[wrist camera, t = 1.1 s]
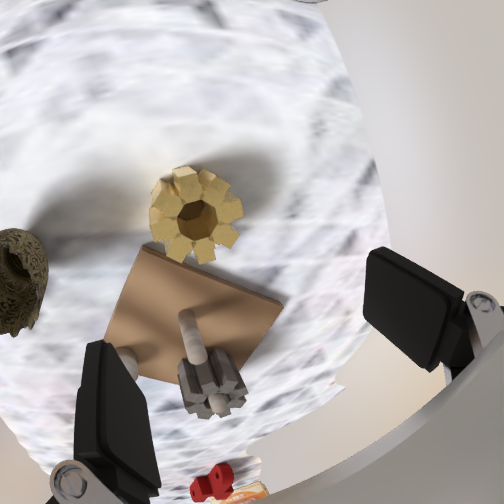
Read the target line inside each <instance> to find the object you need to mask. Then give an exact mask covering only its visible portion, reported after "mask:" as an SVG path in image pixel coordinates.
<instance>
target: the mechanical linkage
mask: <svg viewBox="0 0 504 504" xmlns="http://www.w3.org/2000/svg"><path fill="white" fill-rule="evenodd" d="M233 481H234V474H233V471H232V468H231V467H230V465H229V464H218V465H215V466H214V468H213V469H212V470H211V472H210V473H209V474H208V476H207V477H196V479H195V480H194V482H193V483H192V485H191V486H190V494H191V497H192V500H193V501H194V502H195V503H196V502H204V501H205V500H206V499H207V498H208V497H211V496H214V498H215V499H216V500H225V499H227V498H228V497H229V496H230V495H231V494H232V493H233V492H234V490H233V488H232V484H233Z"/></svg>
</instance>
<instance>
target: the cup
mask: <svg viewBox="0 0 504 504" xmlns="http://www.w3.org/2000/svg"><path fill="white" fill-rule="evenodd" d="M48 272H49V269H48V261H47V257H46V254H45V251H44V249H43V246H42V244H41V242H40V241H39V239H38V238H37V237H35V236H34V235H32V234H30V233H29V232H27V231H24V230H21V229H17V228H11V229H5V230H2V231H0V335H3V334H7V333H10V335H11V337H13V338H14V337H16V336H18V333H19V331H20V330H21V329H22V328H25V329H26V327H27V326H28V329H29V330H31V329H32V328H33V326H34V324H35V321H37V319H38V317H39V311H40V308H41V304H42V301H43V297H44V294H45V290H46V286H47V281H48Z"/></svg>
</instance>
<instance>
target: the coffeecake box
mask: <svg viewBox="0 0 504 504" xmlns="http://www.w3.org/2000/svg"><path fill="white" fill-rule="evenodd" d="M268 495H270V494H269V492H268V490H267V488H266V487H265V485H263V484H262V483H261V482H260V481H258V482H255V483H253V484H250V485H247V486H244V487H241V488H239V489H236V490H234V492H233V493H232V494H231V495H230V496H229V497H228V498H227V499H225V500H216V499H215V498H214V496H213V497H209V500H210V503H211V504H245V503H248V502H251V501H254V500H257V499H260V498H263V497H266V496H268Z"/></svg>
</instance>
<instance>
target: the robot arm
mask: <svg viewBox="0 0 504 504" xmlns="http://www.w3.org/2000/svg"><path fill="white" fill-rule="evenodd" d="M297 1H302V2H323V1H327V0H297ZM463 295H464V291H462V290H461V289H459V288H457V287H456V286H454V285H452V284H451V283H449V282H447V281H445V280H444V279H442V278H440V277H439V276H437V275H435V274H434V273H432V272H430V271H428V270H427V269H425V268H423V267H421V266H419V265H418V264H416V263H414V262H412V261H410V260H409V259H407V258H405V257H403V256H401V255H399V254H398V253H396V252H394V251H392V250H390V249H388V248H386V247H384V246H383V247H379V248H377V249H374V250H372V251H370V253H369V256H368V257H367V260H366V278H365V292H364V304H363V316H364V318H365V320H366V321H367V322H369V323H370V324H371V325H372V326H373V327H374V328H376V329H377V330H378V331H379V332H380V333H382V334H383V335H384V336H385V337H386V338H387V339H388V340H390V341H391V342H392V343H393V344H394V345H395V346H396V347H398V348H399V349H400V350H401V351H402V352H403V353H405V354H406V355H407V356H408V357H409V358H410V359H411V360H412V361H413V362H415V363H416V364H417V365H418V366H419V367H421V368H425V369H426V370H427V371H428V372H429V373H430V372H432V371H433V370H434V369H435V368H436V367H437V366H439V363H440V361H441V362H442V363H443V366H444V372H445V379H446V387H445V388H444V389H443V390H442V391H441V392H440V393H439V394H437V395H436V396H435V397H434V398H433V399H432V400H430V401H429V402H428V403H427V404H426V405H424V406H423V407H422V408H421V409H420V410H418V411H417V412H416V413H415V414H413V415H412V416H411V417H409V418H408V419H407V420H405V421H404V422H403V423H401V424H400V425H399V426H397V427H396V428H394V429H393V430H392V431H390V432H389V433H387V434H386V435H384V436H383V437H382V438H380V439H379V440H377V441H375V442H374V443H372V444H371V445H370V446H368V447H366V448H365V449H363V450H361V451H360V452H358V453H356V454H355V455H353V456H351V457H350V458H348V459H346V460H344V461H342V462H340V463H339V464H337V465H335V466H333V467H331V468H329V469H327V470H325V471H324V472H321V473H320V474H317V475H316V476H313V477H311V478H309V479H307V480H305V481H303V482H300V483H298V484H296V485H293V486H291V487H289V488H286V489H284V490H281V491H279V492H276V493H274V494H271V495H268V496H266V497H263V498H260V499H257V500H254V501H251V502H248V503H245V504H504V306H499V304H498V302H497V300H496V299H495V298H494V297H493V296H491V295H490V294H488V293H485V292H482V291H473V292H471V293H469V294H468V295H467V297H466V301H465V302H464V301H462V298H463ZM50 487H51V491H52V493H53V496H52V497H51V498H50V499H49V500H48V502H47V503H46V504H150V500H149V498H150V497H157V496H159V492H158V488H161V480H160V475H159V471H158V466H157V461H156V457H155V451H154V446H153V441H152V435H151V429H150V423H149V416H148V409H147V402H146V399H145V396H144V394H143V393H142V391H141V390H140V388H139V387H138V385H137V384H136V382H135V381H134V379H133V378H132V376H131V375H130V373H129V371H128V370H127V368H126V367H125V365H124V363H123V362H122V360H121V358H120V357H119V355H118V353H117V352H116V350H115V348H114V347H113V345H112V344H111V343H110V342H109V343H106V341H104V340H99V341H95V342H91V343H88V344H87V346H86V352H85V358H84V365H83V372H82V380H81V387H80V388H79V389H78V392H77V400H76V411H75V426H74V460H65V461H62V462H60V463H59V464H57V465H56V466H55V468H54V469H53V470H52V473H51V476H50Z"/></svg>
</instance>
